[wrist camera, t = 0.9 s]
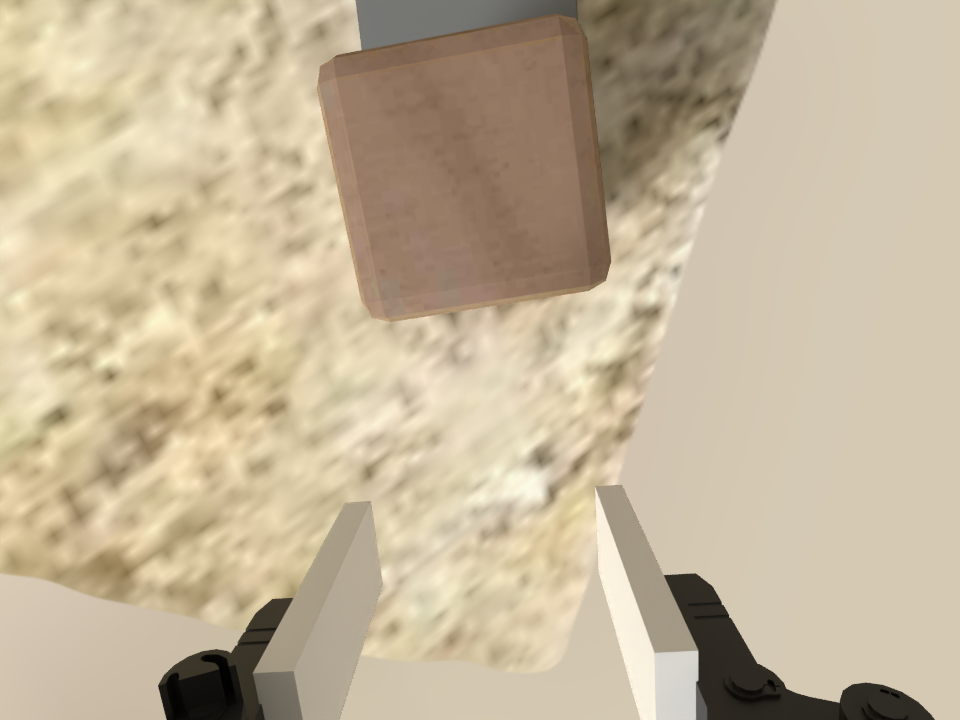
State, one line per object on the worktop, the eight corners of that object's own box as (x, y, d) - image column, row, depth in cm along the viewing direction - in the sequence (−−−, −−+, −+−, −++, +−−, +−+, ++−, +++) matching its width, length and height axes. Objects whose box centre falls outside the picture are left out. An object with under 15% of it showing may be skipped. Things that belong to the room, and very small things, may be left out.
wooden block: (543, 107, 39) (587, -3, 20) (562, 256, 42) (619, 289, 22) (397, 133, 40) (301, 52, 21) (424, 278, 42) (361, 330, 23)
